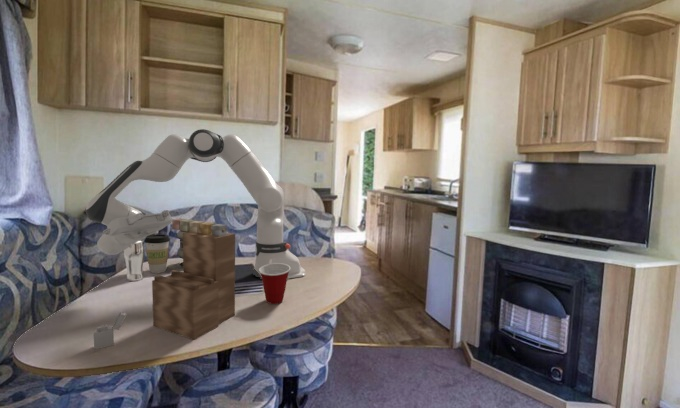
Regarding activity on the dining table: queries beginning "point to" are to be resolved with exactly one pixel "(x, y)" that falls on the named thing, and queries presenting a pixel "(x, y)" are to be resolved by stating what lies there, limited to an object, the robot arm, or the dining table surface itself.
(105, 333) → the lighter
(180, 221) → the bead bar
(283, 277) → the plastic cup
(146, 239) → the coffee cup
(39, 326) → the dining table surface
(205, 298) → the walnut display stand
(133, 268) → the beer glass
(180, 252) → the apothecary jar
